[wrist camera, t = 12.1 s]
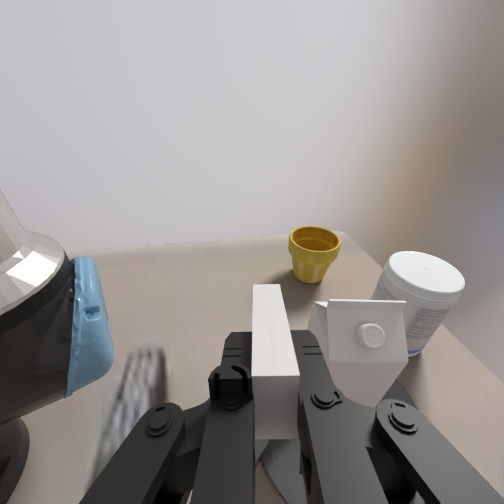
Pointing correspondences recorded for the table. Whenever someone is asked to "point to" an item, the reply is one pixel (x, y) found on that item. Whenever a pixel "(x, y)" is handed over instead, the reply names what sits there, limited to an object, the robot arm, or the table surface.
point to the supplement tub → (420, 293)
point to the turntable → (288, 457)
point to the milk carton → (361, 345)
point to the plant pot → (312, 252)
